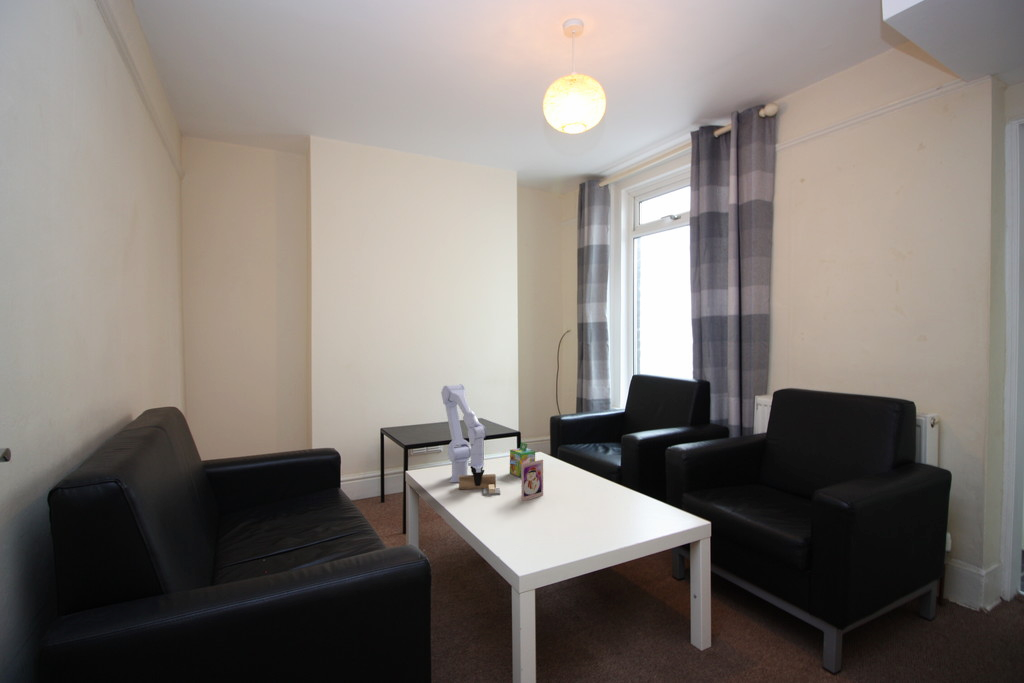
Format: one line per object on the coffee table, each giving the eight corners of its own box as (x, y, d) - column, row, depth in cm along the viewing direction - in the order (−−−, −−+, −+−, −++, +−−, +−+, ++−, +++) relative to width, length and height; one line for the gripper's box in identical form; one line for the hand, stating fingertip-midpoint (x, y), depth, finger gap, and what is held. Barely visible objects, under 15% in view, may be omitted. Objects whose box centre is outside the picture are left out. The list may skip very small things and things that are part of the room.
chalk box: (509, 473, 226) (509, 443, 226) (524, 470, 232) (524, 440, 231) (520, 478, 219) (520, 446, 218) (536, 474, 224) (535, 443, 224)
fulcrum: (483, 490, 201) (483, 484, 201) (499, 489, 202) (499, 484, 202) (483, 495, 195) (483, 489, 195) (500, 494, 196) (500, 488, 196)
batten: (459, 486, 206) (458, 475, 206) (495, 485, 208) (495, 474, 208) (459, 489, 203) (459, 478, 202) (495, 487, 204) (495, 476, 204)
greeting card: (522, 501, 188) (522, 464, 187) (512, 496, 194) (511, 460, 193) (544, 495, 194) (544, 459, 194) (533, 490, 200) (533, 456, 200)
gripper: (467, 449, 212) (467, 479, 212) (469, 458, 197) (469, 490, 197) (482, 449, 213) (482, 478, 213) (485, 457, 198) (485, 489, 199)
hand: (477, 484), depth 205 cm, fingers closed on batten, 4 cm apart
